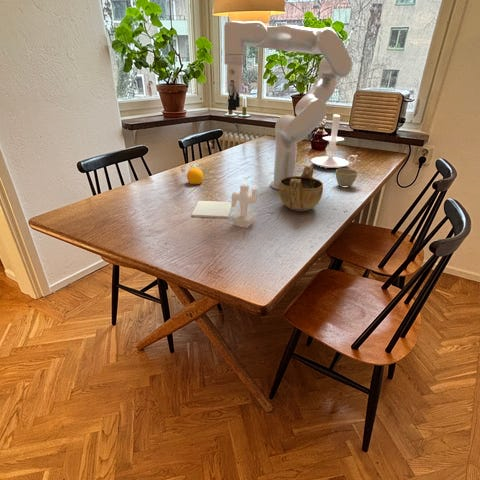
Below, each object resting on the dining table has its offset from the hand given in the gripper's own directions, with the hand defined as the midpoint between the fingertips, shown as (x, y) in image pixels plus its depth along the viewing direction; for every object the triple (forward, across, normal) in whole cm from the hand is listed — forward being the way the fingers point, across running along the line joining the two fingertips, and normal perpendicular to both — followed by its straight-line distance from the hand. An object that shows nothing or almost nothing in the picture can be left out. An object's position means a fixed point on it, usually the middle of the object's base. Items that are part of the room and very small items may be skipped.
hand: (234, 108), depth 131 cm
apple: (+35, +7, +19) cm, 41 cm away
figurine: (+35, -34, -9) cm, 50 cm away
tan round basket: (+35, -16, -29) cm, 48 cm away
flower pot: (+35, +14, -51) cm, 63 cm away
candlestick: (+35, +45, -50) cm, 75 cm away
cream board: (+35, -23, +5) cm, 42 cm away
